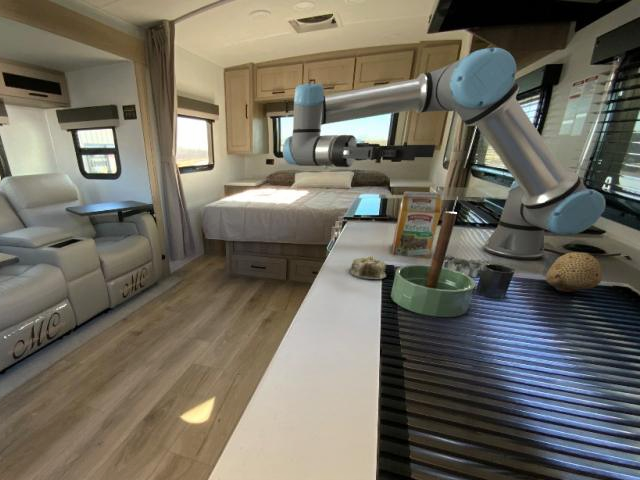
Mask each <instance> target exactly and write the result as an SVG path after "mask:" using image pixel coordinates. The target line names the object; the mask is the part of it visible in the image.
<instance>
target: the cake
mask: <svg viewBox="0 0 640 480" xmlns="http://www.w3.org/2000/svg"><path fill="white" fill-rule="evenodd" d="M386 268H387V263H386V262H384V261H382V260H380V259H377V258H374V257H373V256H372V255H371V256H368V257H359V258H355V259H353V261H352V263H351V266H350V268H349V270H348V272H349V273H350V274H351V275H353V276H356V277H359V278H363V279H371V280H383V279H384V278H386V277H387V274H386Z"/></svg>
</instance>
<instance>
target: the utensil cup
mask: <svg viewBox="0 0 640 480" xmlns="http://www.w3.org/2000/svg"><path fill="white" fill-rule="evenodd" d="M514 274H515V269H514V268H512V267H510V266H507V265H503V264H498V263H488V264H486V265H484V266H483V269H482V272H481V275H480V274H479V278H478V282H477V284H476V287H475V290H474V293H476V295H479V296H480V297H482V298H483V297H484V298H487V299H491V300H492V299H493V300H503V299H505V298H506V295H507V293H508V290H509V288H510V285H511V281H512V279H513V277H514Z"/></svg>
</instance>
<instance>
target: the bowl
mask: <svg viewBox="0 0 640 480" xmlns="http://www.w3.org/2000/svg"><path fill="white" fill-rule="evenodd" d="M430 267H431V264H408V265H407V264H406V265H402V266H400V267H398V268H397V269H396V270H395V274H394V278H393V283H392V288H391V292H390V297H391V300H392V301H393V302H394V303H395V304H397V306H399V307H402V308H404V309H405V310H408V311H410V312H413V313H415V314H420V315H423V316H430V317H435V318H436V317H438V318H453V317H454V318H455V317H459V316H463V315H465V314H466V313H467V312H468V310H469V308H470V305H471V302H472V299H473V296H474V293H475V291H476V288H477V282H476V281H475V280H474V279H473V277H470V276H468V275H465V274H463V273H461V272H458V271H455V270H452V269H448V268H443V267H442V270H441V274H440V277H439V281H438V284H437V288H436V289H434V288H428V287H425V286H426V282H427V278H428V275H429V271H430Z"/></svg>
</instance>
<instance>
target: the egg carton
mask: <svg viewBox="0 0 640 480" xmlns="http://www.w3.org/2000/svg"><path fill="white" fill-rule="evenodd" d="M486 264H490V261H489V260H486V259H476V260H475V259H466V258H462V257H461V258H460V257H455V256H453V255H451V254H450V255H449V254H446V255H445V259H444V263H443V266H442V267H443V268H448V269H452V270H455V271H458V272H461V273H463V274H465V275H468V276H470V277H471V278H477V277H478V275H479V276H480V275H481V272H482V269H483V266H484V265H486Z"/></svg>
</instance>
